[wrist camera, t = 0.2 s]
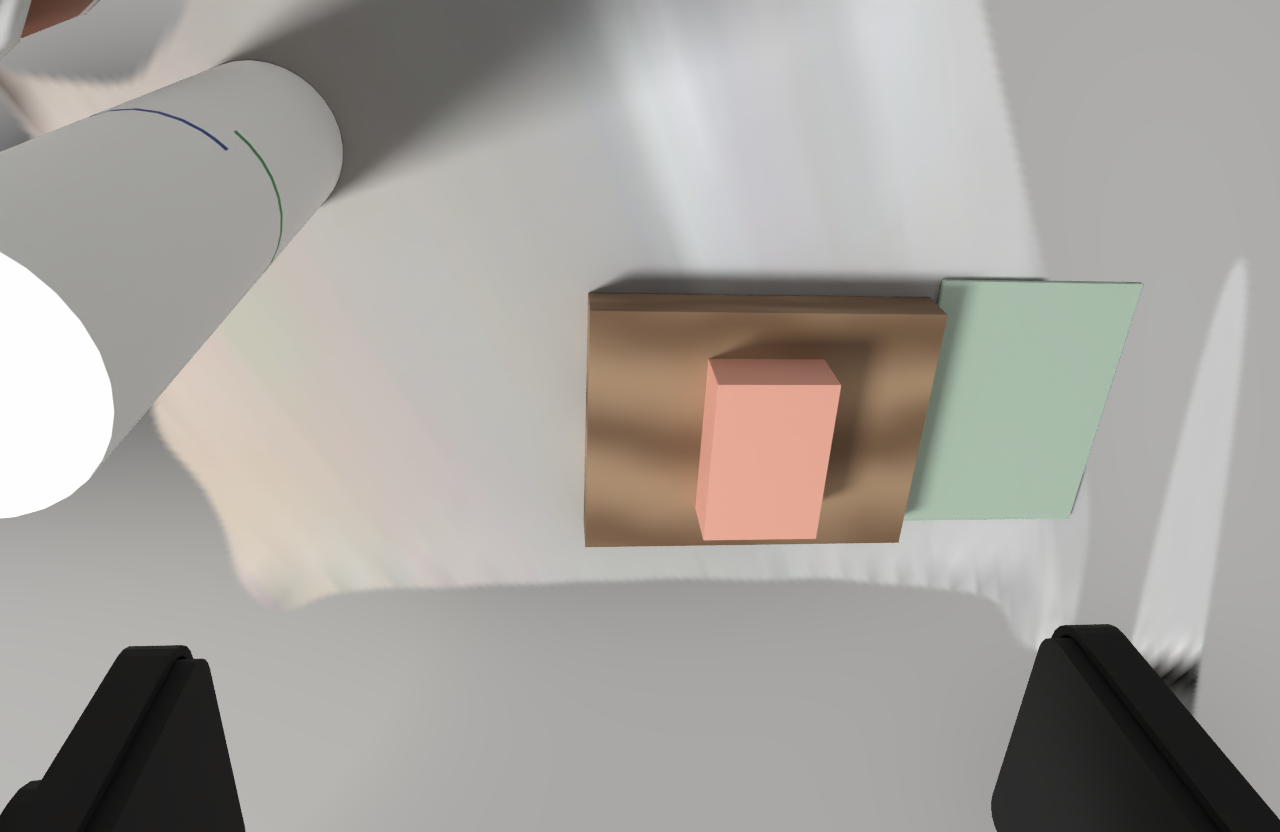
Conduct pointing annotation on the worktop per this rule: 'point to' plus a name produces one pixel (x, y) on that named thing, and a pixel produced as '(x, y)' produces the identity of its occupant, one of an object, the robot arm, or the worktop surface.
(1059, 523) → the worktop surface
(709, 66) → the worktop surface
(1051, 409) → the mat
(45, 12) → the coffee cup
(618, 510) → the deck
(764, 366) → the pink rectangular block
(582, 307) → the worktop surface
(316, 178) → the cylindrical container
